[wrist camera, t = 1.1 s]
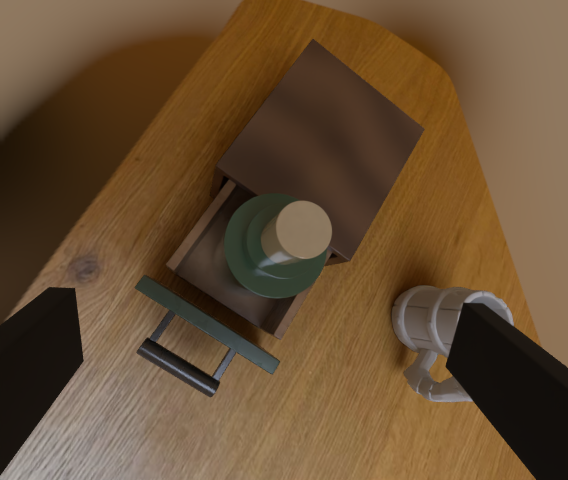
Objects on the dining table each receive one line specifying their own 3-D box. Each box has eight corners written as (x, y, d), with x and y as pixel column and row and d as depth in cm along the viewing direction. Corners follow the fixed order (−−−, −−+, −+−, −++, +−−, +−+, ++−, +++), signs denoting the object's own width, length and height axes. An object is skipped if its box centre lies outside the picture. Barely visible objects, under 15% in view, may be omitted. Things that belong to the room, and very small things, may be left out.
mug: (451, 301, 41) (551, 304, 30) (423, 397, 38) (522, 442, 27) (400, 274, 40) (484, 267, 29) (367, 372, 37) (446, 408, 26)
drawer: (232, 399, 32) (243, 426, 25) (116, 328, 30) (95, 338, 24) (328, 239, 37) (357, 227, 31) (233, 171, 36) (243, 143, 29)
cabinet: (314, 268, 37) (350, 261, 29) (209, 195, 35) (215, 165, 27) (378, 162, 42) (425, 128, 33) (287, 92, 40) (313, 38, 31)
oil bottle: (196, 263, 32) (203, 228, 15) (244, 216, 34) (300, 135, 17) (246, 310, 33) (309, 330, 15) (290, 261, 34) (391, 229, 17)
